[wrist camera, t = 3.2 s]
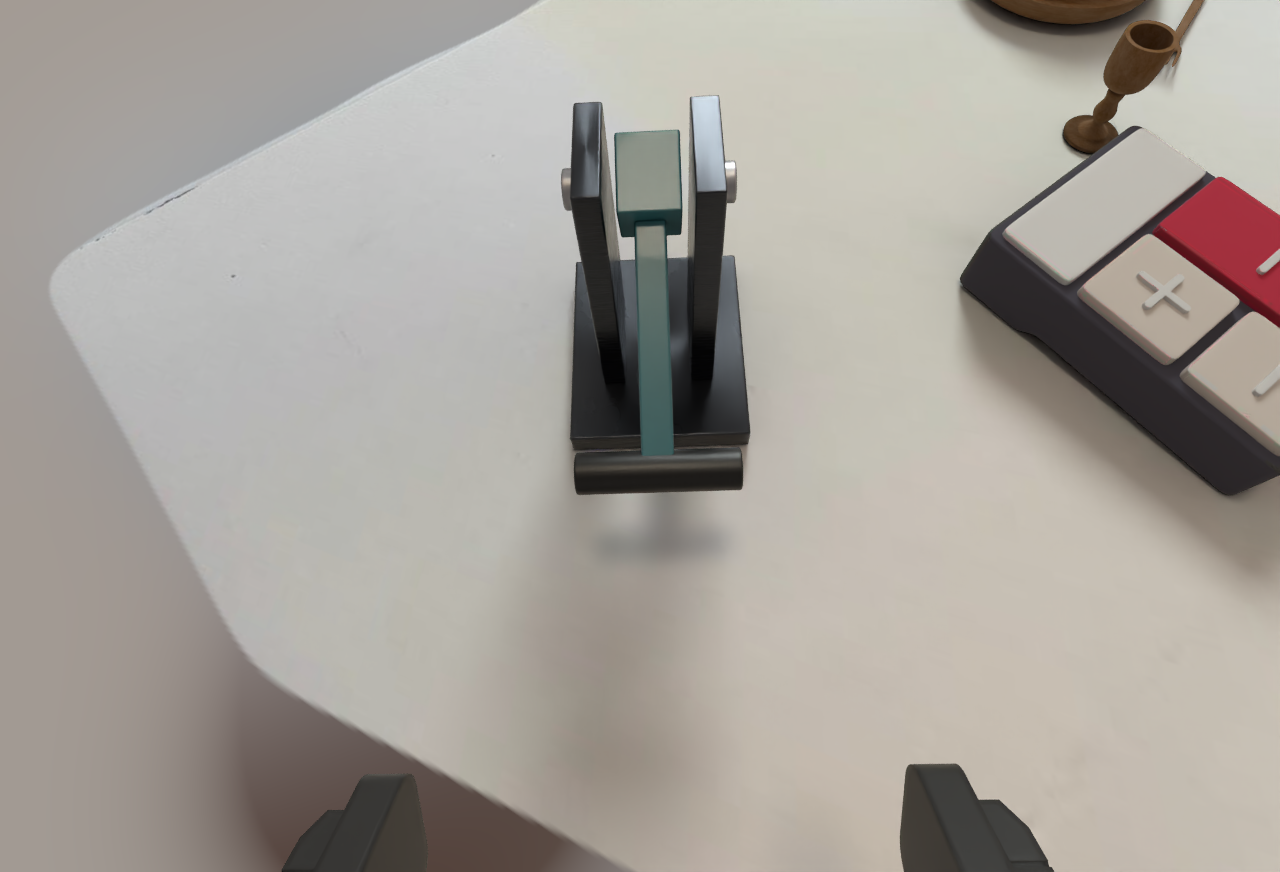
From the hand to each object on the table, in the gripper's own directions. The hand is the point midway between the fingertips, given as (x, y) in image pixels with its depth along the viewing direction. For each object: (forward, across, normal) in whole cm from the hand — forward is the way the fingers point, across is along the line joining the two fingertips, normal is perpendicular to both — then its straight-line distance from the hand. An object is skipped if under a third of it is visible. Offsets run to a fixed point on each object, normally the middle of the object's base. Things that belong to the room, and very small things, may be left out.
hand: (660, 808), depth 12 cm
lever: (+17, 0, +5) cm, 18 cm away
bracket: (+25, 0, +2) cm, 25 cm away
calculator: (+26, +24, +2) cm, 35 cm away
